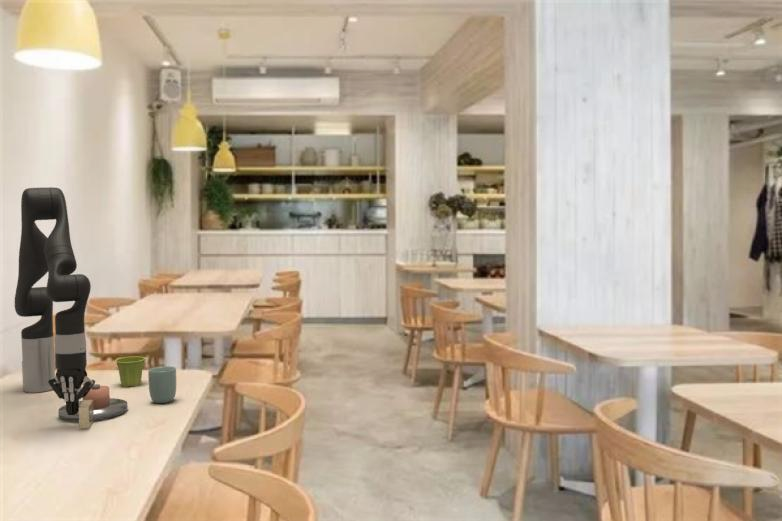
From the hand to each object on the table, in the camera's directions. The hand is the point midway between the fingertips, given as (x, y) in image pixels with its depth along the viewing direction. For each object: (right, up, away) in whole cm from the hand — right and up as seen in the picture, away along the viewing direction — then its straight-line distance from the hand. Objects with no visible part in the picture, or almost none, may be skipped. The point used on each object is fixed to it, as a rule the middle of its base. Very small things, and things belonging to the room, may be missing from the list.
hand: (72, 414), depth 187 cm
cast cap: (+1, 0, +12) cm, 12 cm away
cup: (+16, -2, +24) cm, 29 cm away
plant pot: (-2, -1, +46) cm, 46 cm away
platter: (+1, -2, +9) cm, 9 cm away
